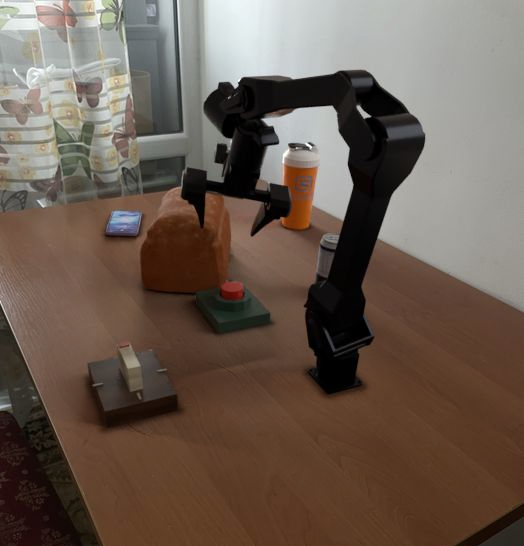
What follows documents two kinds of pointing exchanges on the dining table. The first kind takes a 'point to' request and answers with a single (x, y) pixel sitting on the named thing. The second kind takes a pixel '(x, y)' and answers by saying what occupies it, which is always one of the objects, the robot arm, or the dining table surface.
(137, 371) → the cream block
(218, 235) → the bread
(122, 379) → the switch base
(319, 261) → the beverage can
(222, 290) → the button
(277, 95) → the robot arm
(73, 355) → the dining table surface
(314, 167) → the shaker bottle
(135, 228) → the smartphone
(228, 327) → the block
